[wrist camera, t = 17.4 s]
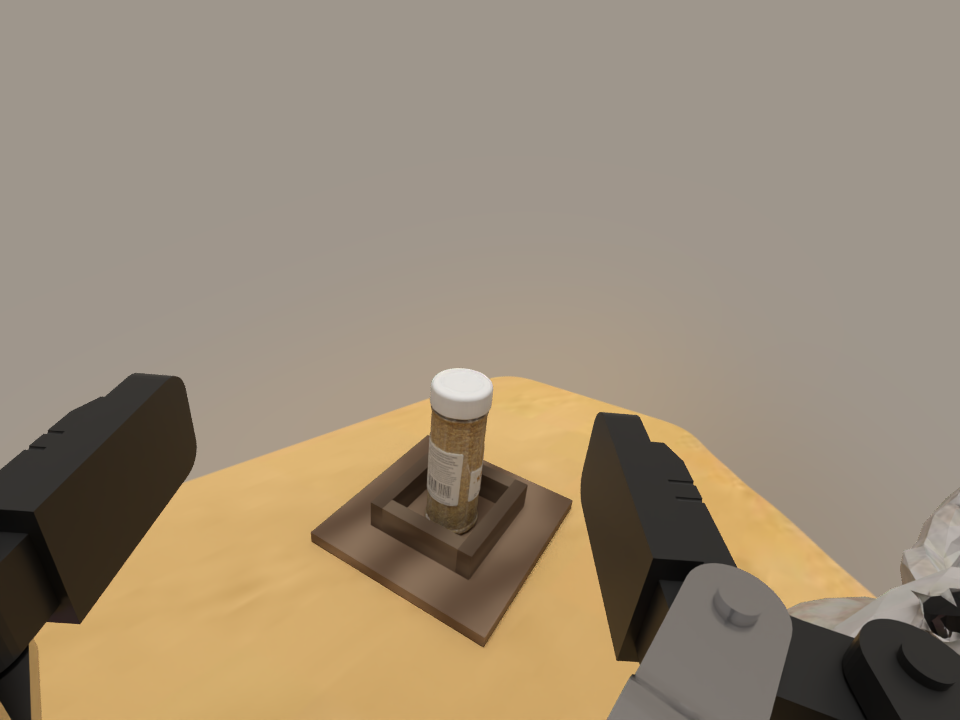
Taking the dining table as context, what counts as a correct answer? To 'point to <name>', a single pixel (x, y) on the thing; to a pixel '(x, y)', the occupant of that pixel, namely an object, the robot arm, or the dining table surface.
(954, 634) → the ceramic pitcher
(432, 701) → the dining table surface
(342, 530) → the walnut stand
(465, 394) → the spice jar
